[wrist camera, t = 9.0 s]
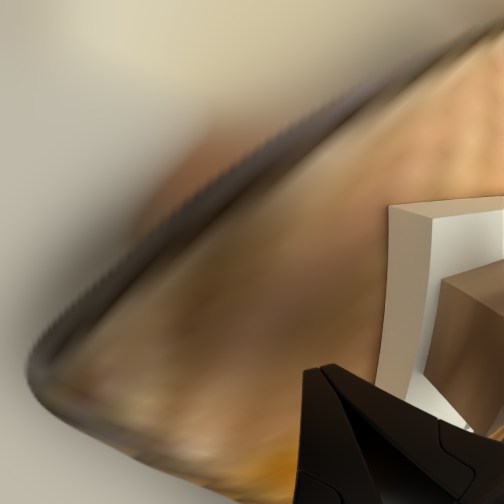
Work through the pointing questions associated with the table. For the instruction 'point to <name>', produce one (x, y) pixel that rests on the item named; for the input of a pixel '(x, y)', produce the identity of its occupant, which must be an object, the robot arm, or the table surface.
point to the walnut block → (471, 346)
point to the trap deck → (430, 286)
